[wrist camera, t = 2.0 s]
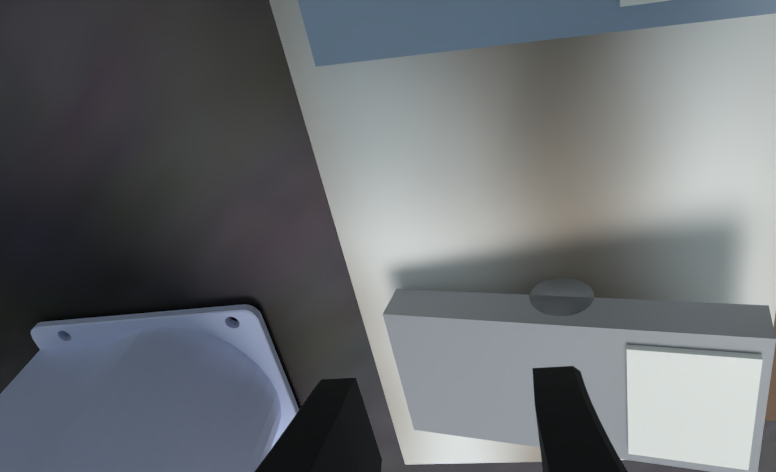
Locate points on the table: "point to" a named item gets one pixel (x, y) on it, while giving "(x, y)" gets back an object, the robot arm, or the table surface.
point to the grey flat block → (590, 368)
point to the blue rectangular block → (488, 22)
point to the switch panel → (548, 176)
